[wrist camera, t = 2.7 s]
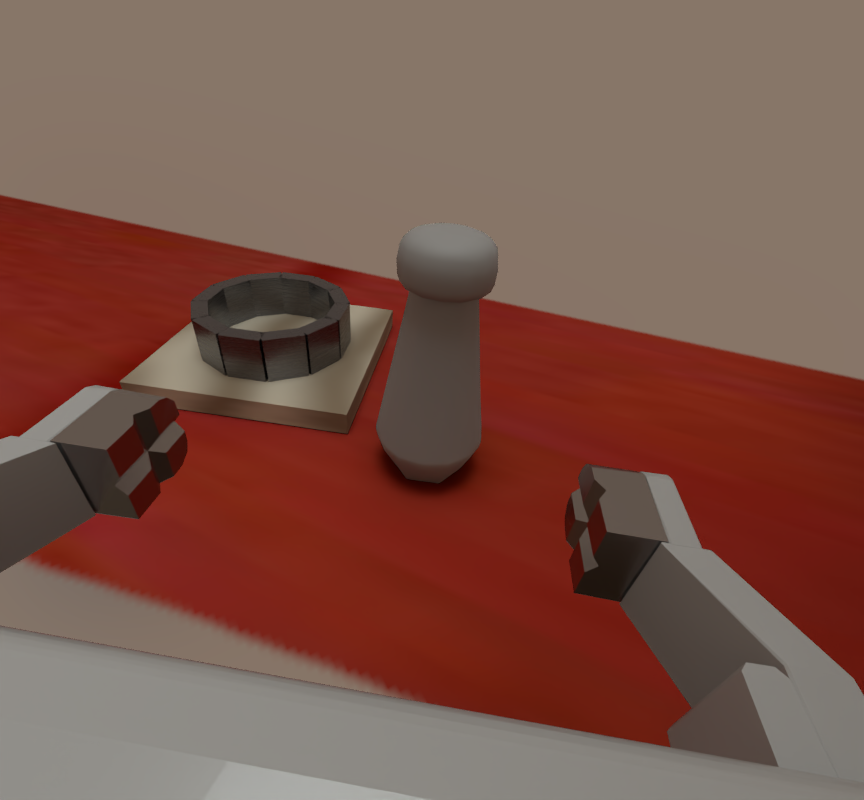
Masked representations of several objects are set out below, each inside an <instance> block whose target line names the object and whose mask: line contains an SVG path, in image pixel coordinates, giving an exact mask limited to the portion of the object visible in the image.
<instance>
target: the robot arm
mask: <svg viewBox="0 0 864 800" xmlns="http://www.w3.org/2000/svg"><path fill="white" fill-rule="evenodd" d="M178 416H179V412H178V409H177V407H176V404H175V401H173V400H171V399H169V398H166V397H161V396H155V395H150V394H144V393H139V392H133V391H128V390H122V389H114V388H108V387H103V386H98V385H94V386H90V387H85V388H84V389H83V390H81V391H80V392H79V393H77V394H76V395H75V396H73V397H72V398H71V399H69V400H68V401H67V402H65V403H64V404H63V405H61V406H60V407H59V408H57V409H56V410H55V411H53V412H52V413H51V414H49V415H48V416H47V417H45V418H44V419H43V420H41V421H40V422H39V423H37V424H36V425H35V426H33V427H32V428H31V429H29V430H28V431H27V432H25V433H24V434H23V435H21V436H20V437H15V436H9V437H6V438H3V439H0V572H2V571H4V570H6V569H7V568H9V567H11V566H12V565H14V564H16V563H17V562H19V561H20V560H22V559H24V558H25V557H27V556H29V555H30V554H32V553H34V552H35V551H37V550H39V549H40V548H42V547H44V546H45V545H47V544H49V543H50V542H52V541H54V540H55V539H57V538H59V537H60V536H62V535H64V534H65V533H67V532H69V531H70V530H72V529H74V528H75V527H77V526H79V525H80V524H82V523H84V522H85V521H87V520H89V519H90V518H92V517H94V516H95V515H96V514H95V513H99V514H106V515H114V516H121V517H128V518H135V519H139V518H140V517H141V516H142V515H143V514H144V512H145V511H146V510H147V509H148V507H149V506H150V505H151V504H152V502H153V501H154V500H155V499H156V498H157V496H158V495H159V494H160V493H161V491H160V483H161V482H163V481H165V480H167V479H169V478H171V477H173V476H174V475H175V474H176V473H177V471H178V470H179V469H180V467H181V466H182V465H183V462H184V459H185V456H186V454H187V437H186V434H185V431H184V430H183V429H182V428H181V427H180V426H179V425H178V424H177V423H176V422H175V420H176V419H177V417H178ZM578 480H579V485H580V489H578V490H576V491H575V492H573V493H571V496H570V498H569V501H568V504H567V508H566V514H565V535H566V541H567V542H568V543H569V544H570V545H571V547H572V548H573V549H574V551H573V553H572V555H571V558H570V560H569V564H570V570H571V577H572V584H573V590H574V593H578V594H583V595H588V596H593V597H598V598H603V599H608V600H613V601H618V602H620V605H621V607H622V608H623V610H624V611H625V613H626V614H627V616H628V617H629V618H630V620H631V621H632V623H633V624H634V626H635V627H636V628H637V630H638V631H639V633H640V634H641V636H642V637H643V639H644V640H645V641H646V643H647V644H648V646H649V647H650V649H651V650H652V651H653V653H654V654H655V656H656V657H657V659H658V660H659V662H660V663H661V664H662V666H663V667H664V669H665V670H666V672H667V673H668V674H669V676H670V677H671V679H672V680H673V682H674V683H675V684H676V686H677V687H678V689H679V690H680V692H681V693H682V695H683V696H684V697H685V699H686V700H687V702H688V703H689V705H690V706H691V707H692V709H690V710H689V711H688V712H687V713H686V714H685V715H683V716H682V717H681V718H680V719H679V720H678V721H676V722H675V723H674V724H673V725H672V726H671V727H670V728H669V730H668V731H667V733H668V737H669V741H670V745H671V747H666V746H660V745H655V744H649V743H644V742H638V741H633V740H627V739H622V738H616V737H611V736H605V735H600V734H594V733H589V732H583V731H578V730H572V729H567V728H561V727H556V726H550V725H545V724H539V723H534V722H528V721H523V720H517V719H512V718H506V717H501V716H495V715H490V714H484V713H479V712H473V711H468V710H462V709H457V708H451V707H446V706H440V705H435V704H429V703H424V702H418V701H413V700H407V699H402V698H396V697H391V696H385V695H380V694H374V693H369V692H363V691H357V690H352V689H347V688H341V687H336V686H330V685H325V684H319V683H314V682H308V681H302V680H297V679H291V678H285V677H280V676H275V675H270V674H264V673H258V672H253V671H247V670H242V669H236V668H231V667H225V666H220V665H215V664H209V663H204V662H198V661H192V660H187V659H181V658H175V657H170V656H165V655H159V654H154V653H148V652H143V651H137V650H132V649H126V648H121V647H115V646H109V645H104V644H99V643H93V642H88V641H82V640H77V639H71V638H66V637H60V636H55V635H49V634H43V633H38V632H32V631H27V630H21V629H16V628H10V627H5V626H0V800H864V695H863V694H862V692H861V690H860V689H859V687H858V685H857V683H856V682H855V680H854V679H853V678H852V677H851V676H850V675H849V674H848V673H847V672H846V671H845V670H843V669H842V668H841V667H840V666H839V665H838V664H837V663H836V662H835V661H833V660H832V659H831V658H830V657H829V656H828V655H827V654H826V653H825V652H823V651H822V650H821V649H820V648H819V647H818V646H817V645H816V644H815V643H813V642H812V641H811V640H810V639H809V638H808V637H807V636H806V635H805V634H803V633H802V632H801V631H800V630H799V629H798V628H797V627H796V626H795V625H793V624H792V623H791V622H790V621H789V620H788V619H787V618H786V617H785V616H783V615H782V614H781V613H780V612H779V611H778V610H777V609H776V608H775V607H773V606H772V605H771V604H770V603H769V602H768V601H767V600H766V599H765V598H763V597H762V596H761V595H760V594H759V593H758V592H757V591H756V590H755V589H753V588H752V587H751V586H750V585H749V584H748V583H747V582H746V581H745V580H743V579H742V578H741V577H740V576H739V575H738V574H737V573H736V572H735V571H733V570H732V569H731V568H730V567H729V566H728V565H727V564H726V563H725V562H723V561H722V560H721V559H720V558H719V557H718V556H717V555H716V554H715V553H713V552H712V551H711V550H706V549H702V547H701V544H700V542H699V540H698V537H697V535H696V533H695V531H694V528H693V526H692V524H691V521H690V519H689V517H688V514H687V512H686V510H685V507H684V505H683V503H682V500H681V498H680V496H679V494H678V491H677V489H676V487H675V484H674V482H673V480H672V479H671V478H670V477H669V476H668V475H662V474H655V473H648V472H637V471H632V470H625V469H618V468H612V467H605V466H598V465H592V464H586V465H585V466H584V467H583V468H582V470H581V473H580V475H579V477H578Z"/></svg>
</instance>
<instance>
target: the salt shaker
mask: <svg viewBox="0 0 864 800" xmlns="http://www.w3.org/2000/svg"><path fill="white" fill-rule="evenodd" d="M497 272H498V248H497V246H496V244H495V243H494V241H493V240H492V239H491V238H490V237H489V236H488V235H487V234H485V233H484V232H482V231H479V230H476V229H473V228H471V227H468V226H464V225H458V224H451V223H435V224H426V225H420V226H418V227H415V228H413V229H411V230H410V231H409V232H408V233H407V234H405V235H404V236H403V238H402V240H401V242H400V245H399V250H398V254H397V274H398V277H399V280H400V282H401V283H402V285H403V286H404V287H405V289H406V290H408V291H409V295H408V299H407V303H406V307H405V311H404V315H403V319H402V323H401V327H400V331H399V335H398V340H397V344H396V348H395V352H394V356H393V360H392V364H391V368H390V372H389V376H388V380H387V384H386V388H385V392H384V396H383V400H382V404H381V408H380V412H379V416H378V420H377V424H376V429H377V434H378V436H379V439H380V441H381V444H382V446H383V449H384V450H385V452H386V453H387V454H388V455H389V457H390V458H391V459H392V460H393V462H394V463H395V464H396V466H397V467H398V468H399V469H400V471H401V472H402V473H403V475H404V476H405V478H406V479H410V480H417V481H425V482H432V483H440V482H442V481H443V480H445V479H446V478H447V477H449V476H450V475H452V474H453V473H454V472H456V471H457V470H459V469H460V468H461V467H462V466H463V465H464V464H465V462H466V461H467V460H468V459H469V458H470V457H471V456H472V454H473V453H474V452H475V451H476V450H477V448H478V447H479V444H480V442H481V404H480V340H479V299H481V298H483V297H484V296H486V295H487V294H488V293H490V292H491V290H492V289H493V287H494V285H495V280H496V276H497Z"/></svg>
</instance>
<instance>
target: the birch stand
mask: <svg viewBox="0 0 864 800" xmlns="http://www.w3.org/2000/svg"><path fill="white" fill-rule="evenodd" d="M392 315H393V310H385V309H378V308H370V307H363V306H355V305H350V328H351V342H350V344H349V346H348V347H347V349H346V351H345V353H344V355H343V357H342V358H341V359H340V360H339V361H337V362H335V363H333V364H332V365H330V366H328V367H326V368H324V369H322V370H320V371H318V372H316V373H314V374H313V375H311V374H309V376H305V377H298V378H292V379H285V380H279V381H272V382H269V380H267V381H266V382H262V381H255V380H248V379H241V378H234V377H228V376H227V375H226V376H225V375H223V374H222V373H220V372H219V371H217V370H216V369H214V368H213V367H212V366H210V365H209V364H207V363H206V362H204V361H203V360H202V357H201V353H200V350H199V346H198V342H197V339H196V335H195V332H194V328H193V324H192V322H191V323H190V324H188V325H187V326H186V327H185V328H184V329H182V330H181V331H180V332H179V333H178V334H176V335H175V336H174V337H173V338H172V339H170V340H169V341H168V342H167V343H166V344H164V345H163V346H162V347H161V348H160V349H158V350H157V351H156V352H155V353H154V354H152V355H151V356H150V357H149V358H148V359H146V360H145V361H144V362H143V363H142V364H140V365H139V366H138V367H137V368H136V369H134V370H133V371H132V372H131V373H130V374H128V375H127V376H126V377H125V378H124V379H122V380H121V381H120V384H121V387H122V389H123V390H128V391H133V392H139V393H144V394H150V395H155V396H161V397H166V398H169V399H171V400H173V401H175V404H176V407H177V409H182V410H189V411H196V412H203V413H209V414H216V415H223V416H230V417H237V418H243V419H250V420H257V421H264V422H271V423H278V424H284V425H291V426H298V427H305V428H312V429H318V430H325V431H332V432H339V433H346V434H348V431H349V429H350V427H351V424H352V422H353V419H354V417H355V415H356V412H357V410H358V407H359V405H360V403H361V400H362V398H363V395H364V393H365V391H366V388H367V386H368V383H369V381H370V378H371V376H372V374H373V371H374V369H375V366H376V364H377V362H378V359H379V357H380V354H381V352H382V350H383V347H384V345H385V342H386V340H387V338H388V335H389V333H390V330H391V328H392ZM314 321H317V320H316V319H314V318H312V317H305V316H298V315H291V314H278V315H268V316H259V317H255V318H252V319H249V320H247V321H244V322H241V323H239V324H236V325H233V326H231V327H230V328H236V329H243V330H251V331H258V332H269V331H277V330H286V329H294V328H300V327H302V326H305V325H307V324H309V323H312V322H314Z"/></svg>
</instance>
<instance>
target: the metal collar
mask: <svg viewBox="0 0 864 800" xmlns="http://www.w3.org/2000/svg"><path fill="white" fill-rule="evenodd" d="M278 314H291V315H298V316H305V317H312V318H314V319H316V320H317V321H314V322H312V323H309V324H307V325H305V326H302V327H300V328H294V329H286V330H277V331H269V332H258V331H251V330H243V329H236V328H230V327H231V326H233V325H236V324H239V323H241V322H244V321H247V320H249V319H252V318H255V317H259V316H268V315H278ZM191 321H192V324H193V328H194V332H195V335H196V339H197V342H198V346H199V350H200V353H201V357H202V360H203V361H204V362H206V363H207V364H209V365H210V366H212V367H213V368H214V369H216V370H217V371H219V372H220V373H222V374H223V375H225V376H226V375H227V376H228V377H234V378H241V379H248V380H255V381H262V382H266V381H267V380H269V382H272V381H279V380H285V379H292V378H298V377H305V376H309V374H311V375H313V374H314V373H316V372H318V371H320V370H322V369H324V368H326V367H328V366H330V365H332V364H333V363H335V362H337V361H339V360H340V359H341V358H342V357H343V355H344V353H345V351H346V349H347V347H348V346H349V344H350V342H351V328H350V302H349V301H348V299H347V297H346V296H345V294H344V292H343V290H342V289H341V288H340V287H339V286H336V285H334V284H332V283H329V282H327V281H325V280H323V279H320V278H318V277H315V276H308V275H300V274H292V273H284V272H283V273H282V274H281V272H278V273H264V274H250V275H246V276H244V275H243V276H240V277H236V278H233V279H229V280H226V281H223V282H219V283H216V284H213V285H211V286H209V287H208V288H207V289H206V290H204V291H203V292H202V293H200V294H199V295H198V296H196V297H195V298H194V299H192V301H191Z"/></svg>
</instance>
